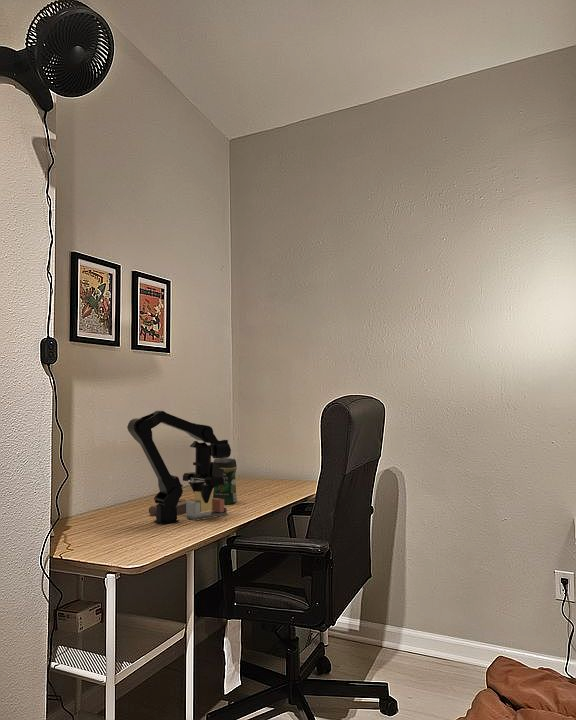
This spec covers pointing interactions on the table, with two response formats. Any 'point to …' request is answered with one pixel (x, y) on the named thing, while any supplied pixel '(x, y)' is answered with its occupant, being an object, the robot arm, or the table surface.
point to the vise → (194, 511)
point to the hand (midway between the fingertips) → (203, 502)
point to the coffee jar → (226, 481)
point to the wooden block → (180, 506)
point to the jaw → (217, 505)
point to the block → (200, 499)
